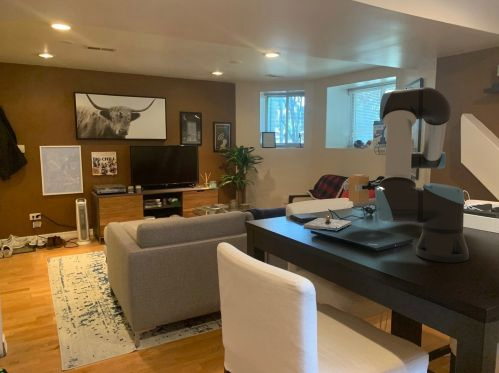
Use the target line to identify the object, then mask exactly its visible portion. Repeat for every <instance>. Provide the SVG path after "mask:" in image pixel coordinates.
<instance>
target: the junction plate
mask: <svg viewBox="0 0 499 373" xmlns="http://www.w3.org/2000/svg"><path fill="white" fill-rule="evenodd" d="M346 225H349V226H351V225H352V220H344V219H333V218H331V215H325V218H324V217H318V218H316V219H314V220H311V221H308V222H307V223H306V222H305V223H304V224H303V228H304V229H311V230H312V229H313V230H319V228H336V227H337V228H340V227H342V226H346Z"/></svg>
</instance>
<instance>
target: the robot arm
mask: <svg viewBox="0 0 499 373" xmlns="http://www.w3.org/2000/svg"><path fill="white" fill-rule="evenodd" d="M379 104H380V105H379V106H380V107H379V113H378V114H379V121H381V122H382V123H383V125H384V126H385V127H386V142H385V143H386V144H385V161H384V162H385V163H384V175H378V176H377V177H376V179H372V180H371V179H370V180H369V182H368V185H367V184H359V185H355V191H364V190H367V189H368V190H369V191H371V190H372V191H374V195H375V196H374V197H375V205H376V215H377V218H378V219H379V220H380V221H382V222H383V221H384V222H391V223H410V224H411V223H415V224H422V230H421V234H420V237H419V238H418V242H417V244H416V247H415V250H416V251H415V252H416V255H417V256H418V257H420V258H423V259H424V260H429V261H433V262H440V263H452V264H454V263H455V264H456V263H464V262H466V261H468V260H469V259H470V258H469V256H470V255H469V254H470V253H469V247H468V246H467V242H466V239H465V236H464V221H465V220H464V219H465V218H464V214H465V213H464V212H465V204H466V202H465V193H464V190H463V189H462V188H460V187H457V186H455V185H454V186H453V185H449V184H443V183H432V182H425V183H424V184H423V186H422V187H417V183H416V178H415V177H414V175H413V174H412V169H434V170H436V169H444V168H445V167H446V165H447V154H446V152H445V151H443V149H444V143H445V142H444V141H445V137H446V136H445V135H446V129H447V123H448V122H449V121H450V119H451V117H452V107H451V103H450V101H449V99H448V98H447V97H446V95H445V94H444V93H442V92H441V91H439V90H438V89H436V88H433V87H428V86H426V87H416V88H415V87H413V88H402V89H396V88H395V89H394V88H393V90H392V89H391V90H387V91H384V92H383V94H382V95H381V99H380V103H379ZM417 120H423V121H424V122H425V123H424V135H423V136H424V137H423V151H422V152H421V151H419V152H418V151H417V152H416V151H412V146H413V143H412V140H413V138H412V136H413V133H412V132H413V130H412V129H413V126H414V125H415V124H416V123H417ZM343 190H344V191H347V190H348V191H349V182H346V183H343Z"/></svg>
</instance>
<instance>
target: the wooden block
mask: <svg viewBox="0 0 499 373" xmlns="http://www.w3.org/2000/svg"><path fill="white" fill-rule="evenodd" d="M369 181H370V175H369V176H368V175H367V174H360V173H359V174H351V175H349V176H348V183H349V189H348V201H349V202H352V203H358V204H359V203H366V202H369V201H370V190H368V189H367V190H364V191H355V185H359V184H367V185H368V182H369Z"/></svg>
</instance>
